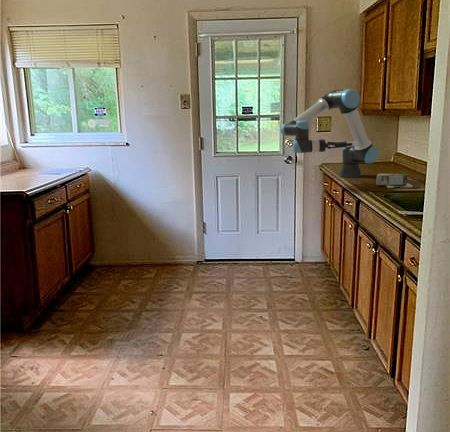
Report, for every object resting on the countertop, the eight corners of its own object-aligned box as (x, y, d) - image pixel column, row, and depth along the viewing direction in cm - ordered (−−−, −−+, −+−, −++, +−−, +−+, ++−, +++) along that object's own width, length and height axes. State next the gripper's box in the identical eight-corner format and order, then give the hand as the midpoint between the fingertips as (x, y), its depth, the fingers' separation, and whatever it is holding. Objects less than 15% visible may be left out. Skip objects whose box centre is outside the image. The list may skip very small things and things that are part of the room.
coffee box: (376, 184, 281) (402, 187, 271) (376, 174, 279) (403, 176, 270) (380, 182, 288) (407, 184, 279) (381, 172, 286) (407, 174, 277)
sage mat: (378, 182, 294) (378, 181, 294) (401, 182, 294) (401, 180, 294) (388, 187, 276) (388, 186, 275) (412, 187, 275) (412, 185, 275)
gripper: (316, 150, 287) (354, 148, 287) (320, 153, 275) (359, 151, 274) (316, 138, 285) (354, 136, 285) (320, 140, 273) (359, 138, 272)
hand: (356, 143), depth 279 cm, fingers closed
